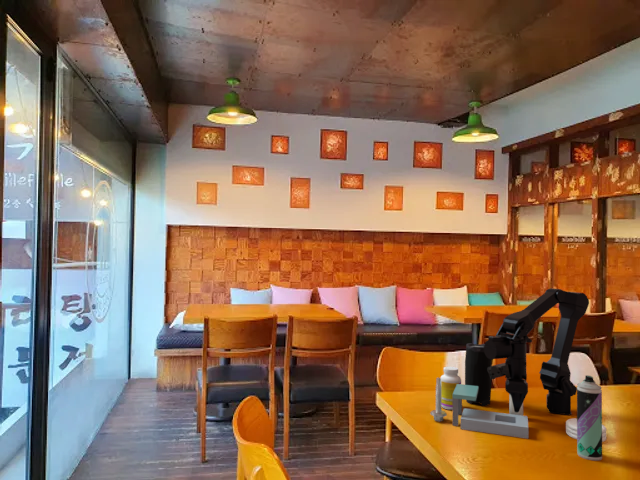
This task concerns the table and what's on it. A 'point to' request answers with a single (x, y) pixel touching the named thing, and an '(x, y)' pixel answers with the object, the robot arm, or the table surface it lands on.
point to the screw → (438, 403)
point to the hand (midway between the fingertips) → (516, 407)
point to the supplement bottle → (449, 386)
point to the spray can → (589, 419)
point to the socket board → (495, 423)
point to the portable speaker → (478, 372)
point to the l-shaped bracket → (462, 393)
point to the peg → (511, 408)
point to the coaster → (572, 429)
